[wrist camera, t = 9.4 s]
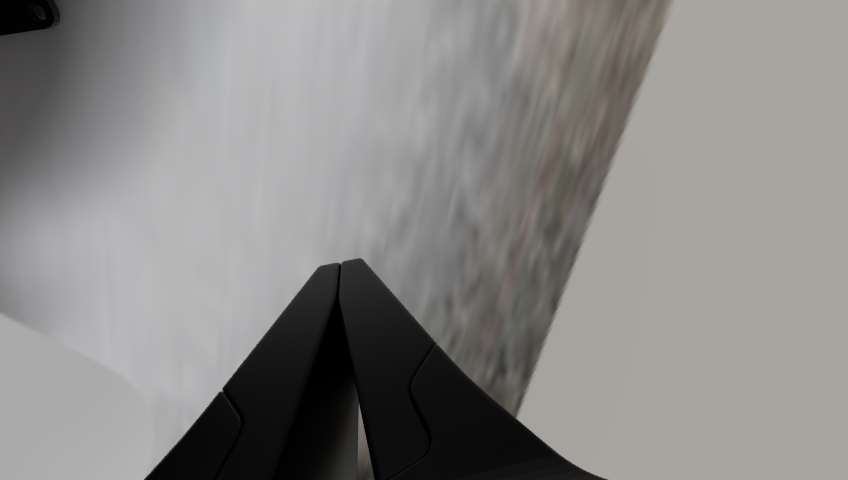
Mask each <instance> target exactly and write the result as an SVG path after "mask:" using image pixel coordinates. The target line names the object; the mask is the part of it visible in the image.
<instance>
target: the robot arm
mask: <svg viewBox="0 0 848 480" xmlns="http://www.w3.org/2000/svg"><path fill="white" fill-rule="evenodd" d="M35 5H38V6H40V7H41V8H42V9H43V10H44V11H45V15H46V17H45V19H44V20H43V19H41V18H40V17H38V15H37V14H36V13H35V9H34V8H35ZM59 22H60V13H59V10H58V8H57V6H56V4H55V2H54V0H0V36H1V35H8V34H14V33H21V32H28V31H34V30H41V29H47V28H52V27H55V26H57V25H58V23H59ZM222 390H223V392H222V391H221V392H219V393H218V394H217V395H216V397H215V398H214V399H213V401H212V402H211V403H210V404H209V406H208V407H207V408H206V409H205V411H204V412H203V413H202V414H201V415H200V417H199V418H198V419H197V420H196V421H195V423H194V424H193V425H192V426H191V427H190V429H189V430H188V431H187V432H186V433H185V435H184V436H183V437H182V438H181V439H180V440H179V442H178V443H177V444H176V445H175V446H174V447H173V448H172V449H171V450H170V452H169V453H168V454H167V455H166V456H165V457H164V458H163V459H162V460H161V462H160V463H159V464H158V465H157V466H156V467H155V468H154V469H153V470H152V472H151V473H150V474H149V475H148V476H147V477H146V478H145V479H144V480H357V458H358V409H359V404H360V409H361V414H362V419H363V424H364V429H365V434H366V439H367V444H368V448H369V453H370V458H371V463H372V468H373V473H374V478H375V480H607V479H604V478H601V477H598V476H596V475H593V474H591V473H589V472H587V471H585V470H583V469H581V468H579V467H578V466H576V465H574V464H572V463H571V462H569V461H568V460H566V459H565V458H563V457H562V456H561V455H559V454H558V453H557V452H556V451H554V450H553V449H552V448H551V447H549V446H548V445H547V444H546V443H545V442H543V441H542V440H541V439H540V438H539V437H537V436H536V435H535V434H534V433H533V432H531V431H530V430H529V429H528V428H527V427H525V426H524V425H523V424H522V423H521V422H520V421H518V420H517V419H516V418H515V417H514V416H512V415H511V414H510V413H509V412H508V411H506V410H505V409H504V408H503V407H502V406H500V405H499V404H498V403H497V402H496V401H495V400H493V399H492V398H491V397H490V396H489V395H488V394H486V393H485V392H484V391H483V390H482V389H481V388H480V387H479V386H477V385H476V384H475V383H474V382H473V381H472V380H471V379H470V378H469V377H467V376H466V374H465V373H464V372H463V371H462V370H461V369H460V368H459V367H458V366H457V365H456V364H455V363H454V362H453V361H452V360H451V359H450V358H449V357H448V355H447V354H446V353H445V352H444V351H443V350H442V349H441V348H440V346H438V345H437V344H436V342H435V341H434V340H433V339H432V338H431V336H430V335H429V334H428V333H427V332H426V331H425V330H424V329H423V327H422V326H421V325H420V324H419V323H418V322H417V321H416V319H415V318H414V317H413V316H412V315H411V314H410V313H409V311H408V310H407V309H406V308H405V307H404V306H403V305H402V304H401V302H400V301H399V300H398V299H397V298H396V297H395V296H394V294H393V293H392V292H391V291H390V290H389V289H388V288H387V286H386V285H385V284H384V283H383V282H382V281H381V280H380V278H379V277H378V276H377V275H376V274H375V273H374V272H373V271H372V269H371V268H370V267H369V266H368V265H367V264H366V263H365V261H364V260H363V259H361V258H358V259H353V260H348V261H344V262H342V263H341V264H340V263H333V264H327V265H322V266H320V267H318V268H317V270H316V271H315V272H314V273H313V275H312V276H311V277H310V278H309V280H308V281H307V282H306V283H305V285H304V286H303V287H302V289H301V290H300V291H299V292H298V294H297V295H296V296H295V297H294V299H293V300H292V301H291V302H290V304H289V305H288V306H287V307H286V309H285V310H284V311H283V313H282V314H281V315H280V316H279V318H278V319H277V320H276V321H275V323H274V324H273V325H272V326H271V328H270V329H269V330H268V331H267V333H266V334H265V335H264V336H263V338H262V339H261V340H260V342H259V343H258V344H257V345H256V347H255V348H254V349H253V350H252V352H251V353H250V354H249V355H248V357H247V358H246V359H245V360H244V362H243V363H242V364H241V365H240V367H239V368H238V369H237V371H236V372H235V373H234V374H233V376H232V377H231V378H230V379H229V381H228V382H227V383H226V384H225V386H224V387H223V389H222Z"/></svg>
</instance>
